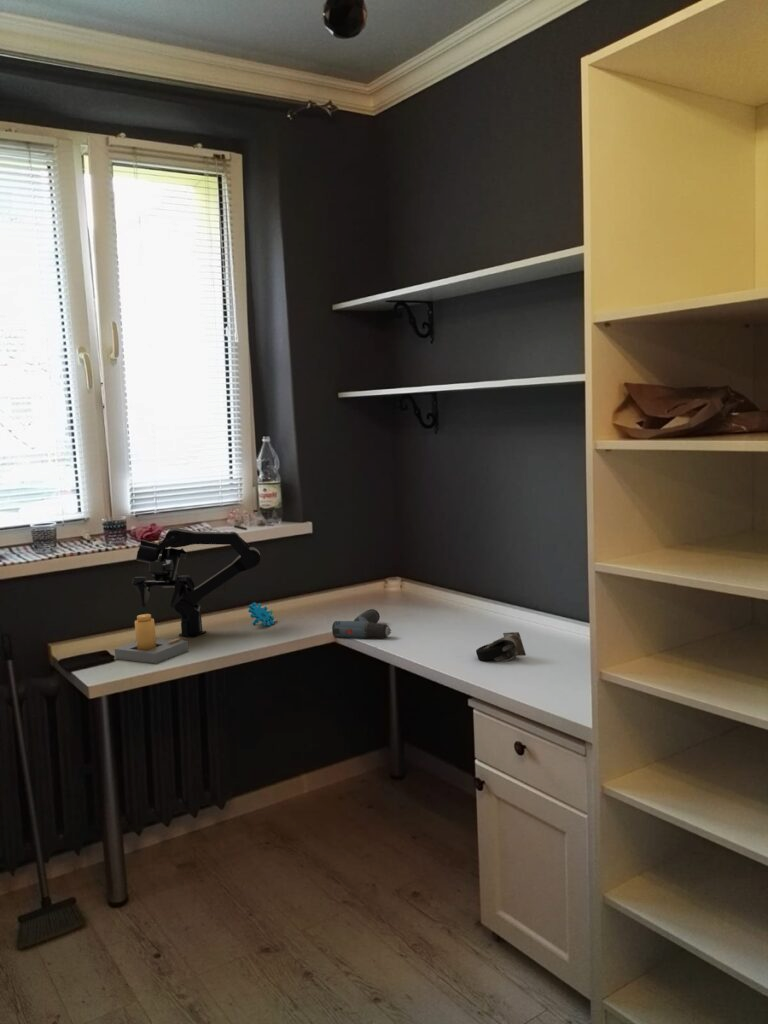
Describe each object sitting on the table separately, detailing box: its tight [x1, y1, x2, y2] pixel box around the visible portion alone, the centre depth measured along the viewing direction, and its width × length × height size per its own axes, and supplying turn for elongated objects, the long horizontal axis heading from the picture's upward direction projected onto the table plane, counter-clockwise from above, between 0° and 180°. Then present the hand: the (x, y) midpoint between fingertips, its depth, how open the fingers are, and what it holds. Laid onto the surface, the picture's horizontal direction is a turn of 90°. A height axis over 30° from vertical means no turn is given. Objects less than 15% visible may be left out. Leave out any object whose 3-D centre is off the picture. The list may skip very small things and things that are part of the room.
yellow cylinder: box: [134, 613, 157, 651], centre depth 259 cm, size 6×6×12 cm
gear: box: [247, 602, 275, 627], centre depth 291 cm, size 11×6×10 cm
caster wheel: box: [475, 631, 527, 663], centre depth 237 cm, size 7×11×10 cm
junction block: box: [114, 637, 189, 664], centre depth 261 cm, size 14×16×4 cm
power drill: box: [331, 608, 392, 639], centre depth 275 cm, size 5×19×20 cm
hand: (157, 607), depth 268 cm, fingers open, 9 cm apart
